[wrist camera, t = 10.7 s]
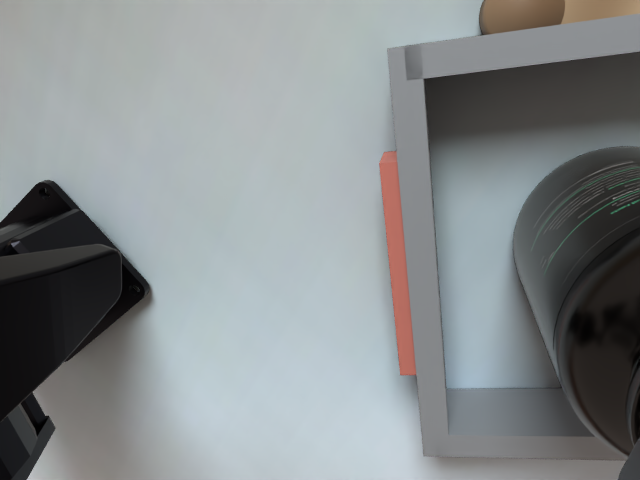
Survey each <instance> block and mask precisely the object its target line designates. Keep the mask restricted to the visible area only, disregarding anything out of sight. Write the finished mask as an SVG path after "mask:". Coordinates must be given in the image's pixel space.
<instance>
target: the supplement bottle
mask: <svg viewBox="0 0 640 480" xmlns="http://www.w3.org/2000/svg"><path fill="white" fill-rule="evenodd" d="M513 251H514V259H515V264H516V268H517V271H518V274H519V277H520V279H521V282H522V286H523V288H524V291H525V294H526V296H527V299H528V301H529V304H530V307H531V309H532V312H533V315H534V317H535V320H536V322H537V325H538V328H539V330H540V333H541V336H542V338H543V341H544V344H545V346H546V349H547V351H548V354H549V357H550V359H551V362H552V365H553V367H554V370H555V372H556V375H557V378H558V380H559V383H560V385H561V388H562V390H563V392H564V394H565V396H566V398H567V400H568V402H569V404H570V406H571V407H572V409H573V411H574V412H575V414H576V415H577V417H578V418H579V419H580V420H581V422H582V423H583V424H584V425H585V427H586V428H587V429H588V430H589V431H590V432H591V433H592V434H593V435H594V436H595V437H596V438H597V439H599V440H600V441H601V442H602V443H604V444H605V445H606V446H607V447H609V448H610V449H612V450H613V451H615V452H616V453H618V454H619V455H621V456H622V457H624V458H626V459H628V457H629V455H630V453H631V452H632V450H633V448H634V446H635V444H636V442H637V441H638V439H639V438H640V147H631V146H621V147H610V148H604V149H599V150H596V151H592V152H589V153H586V154H583V155H580V156H578V157H576V158H574V159H572V160H570V161H568V162H566V163H564V164H563V165H561V166H559V167H558V168H557V169H555V170H554V171H552V172H551V173H550V174H549V175H547V176H546V177H545V178H544V179H543V180H542V181H541V182H540V183H539V184H538V185H537V186H536V188H535V189H534V190H533V191H532V193H531V194H530V195H529V197H528V198H527V200H526V202H525V203H524V205H523V207H522V209H521V211H520V214H519V216H518V219H517V222H516V226H515V231H514V239H513Z"/></svg>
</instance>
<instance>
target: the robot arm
mask: <svg viewBox="0 0 640 480" xmlns="http://www.w3.org/2000/svg"><path fill="white" fill-rule="evenodd" d="M45 188H46V189H47V190H48V191H49V192H50V197H49V196H48V195H47V194H46V192H45ZM133 285H136V286H137V287H138V288H139V290H140V292H138V291H136V290H135V289H134V286H133ZM148 292H149V285H148V283H147V281H146V280H145V279H144V278H143V277H142V276H141V275H140V273H139V272H138V271H137V270H136V269H135V268H134V267H133V266H132V265H131V264H130V263H129V262H128V260H127V259H126V258H125V257H124V256H123V255H122V254H121V253H120V251H119V250H118V249H117V248H116V247H115V246H114V245H113V243H112V242H111V241H110V240H109V239H108V238H107V237H106V236H105V235H104V234H103V233H102V232H101V230H100V229H99V228H98V227H97V226H96V225H95V224H94V223H93V222H92V221H91V220H90V219H89V217H88V216H87V215H86V214H85V213H84V212H83V211H82V210H80V208H79V207H78V206H77V205H76V204H75V203H74V202H73V201H72V200H71V199H70V198H69V197H68V195H67V194H66V193H65V192H64V191H63V190H62V189H61V188H60V187H59V186H58V185H57V184H56V183H55V182H54V181H51V180H45V181H42V182H39V183H38V184H36V185H35V186H34V187H33V188H32V189H31V191H30V192H29V193H28V194H27V195H26V196H25V197H24V198H23V199H22V200H21V201H20V202H19V203H18V204H17V205H16V206H15V208H14V209H13V210H12V211H11V212H10V213H9V214H8V215H7V216H6V217H5V218H4V219H3V220H2V221H1V222H0V480H27V478H28V476H29V475H30V473H31V471H32V469H33V468H34V466H35V464H36V462H37V460H38V459H39V457H40V455H41V453H42V452H43V450H44V448H45V446H46V445H47V443H48V441H49V439H50V437H51V436H52V434H53V432H54V430H55V426H54V424H53V423H52V421H51V419H50V417H49V416H45V414H44V412H43V411H42V409H41V407H40V405H39V403H38V402H37V400H36V398H35V396H34V394H33V393H32V392H33V391H34V390H35V389H36V388H37V387H38V386H39V385H40V384H41V383H42V382H43V381H44V380H46V379H47V378H48V377H49V376H50V375H51V374H52V373H53V372H54V371H55V370H56V369H57V368H58V367H59V366H60V365H61V364H62V363H63V362H66V361H68V360H70V359H71V358H72V357H73V356H74V355H76V354H77V353H78V352H79V351H80V350H82V349H83V348H84V347H85V346H86V345H87V344H89V343H90V342H91V341H92V340H93V339H95V338H96V337H97V336H98V335H99V334H101V333H102V332H103V331H104V330H105V329H107V328H108V327H109V326H110V325H111V324H113V323H114V322H115V321H116V320H117V319H119V318H120V317H121V316H122V315H123V314H125V313H126V312H127V311H128V310H129V309H130V308H132V307H133V306H134V305H135V304H136V303H138V302H139V301H140V300H141V299H142V298H144V297H145V296H146V295H147V293H148ZM618 480H640V438H639V439H638V441H637V442H636V444H635V446H634V448H633V450H632V452H631V453H630V455H629V457H628V459H627V461H626V463H625V464H624V466H623V468H622V470H621V472H620V475H619V478H618Z"/></svg>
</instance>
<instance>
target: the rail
mask: <svg viewBox="0 0 640 480" xmlns="http://www.w3.org/2000/svg"><path fill="white" fill-rule="evenodd" d="M639 13H640V0H484V1H483V3H482V5H481V9H480V14H479V23H480V28H481V31H482V33H483V35H489V34H496V33H503V32H510V31H518V30H525V29H532V28H539V27H546V26H554V25H560V24H567V23H575V22H582V21H589V20H596V19H603V18H610V17H618V16H625V15H632V14H639Z"/></svg>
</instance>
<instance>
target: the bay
mask: <svg viewBox="0 0 640 480" xmlns="http://www.w3.org/2000/svg"><path fill="white" fill-rule="evenodd" d="M387 52H388V63H389V74H390V85H391V96H392V108H393V119H394V130H395V141H396V151H391V152H384V153H383V156H382V158H381V161H380V163H379V165H380V175H381V185H382V195H383V205H384V215H385V225H386V235H387V245H388V255H389V266H390V276H391V286H392V296H393V306H394V316H395V326H396V336H397V346H398V356H399V366H400V375H416V377H417V388H418V399H419V410H420V421H421V433H422V444H423V455H424V456H431V457H481V458H530V459H580V460H627V459H626V458H624V457H622V456H621V455H619V454H618V453H616V452H615V451H613V450H612V449H610V448H609V447H607V446H606V445H605V444H604V443H602V442H601V441H600V440H599V439H597V438H596V437H595V436H594V435H593V434H592V433H591V432H590V431H589V430H588V429H587V428H586V427H585V425H584V424H583V423H582V422H581V420H580V419H579V418H578V417H577V415H576V414H575V412H574V411H573V409H572V407H571V406H570V404H569V402H568V400H567V398H566V396H565V394H564V392H563V390H562V388H497V389H446V376H445V362H444V347H443V333H442V319H441V305H440V290H439V276H438V262H437V248H436V233H435V219H434V205H433V191H432V176H431V162H430V148H429V134H428V119H427V105H426V91H425V78H433V77H441V76H449V75H457V74H465V73H473V72H481V71H489V70H497V69H505V68H513V67H521V66H528V65H536V64H544V63H552V62H560V61H568V60H576V59H584V58H592V57H600V56H608V55H616V54H624V53H632V52H640V13H639V14H632V15H625V16H618V17H610V18H603V19H596V20H589V21H582V22H575V23H567V24H560V25H554V26H546V27H539V28H532V29H525V30H518V31H510V32H503V33H496V34H489V35H481V36H474V37H466V38H459V39H452V40H445V41H438V42H430V43H423V44H416V45H409V46H402V47H395V48H388V49H387Z"/></svg>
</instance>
